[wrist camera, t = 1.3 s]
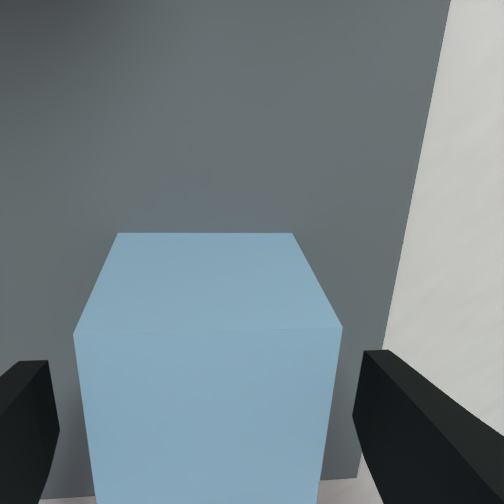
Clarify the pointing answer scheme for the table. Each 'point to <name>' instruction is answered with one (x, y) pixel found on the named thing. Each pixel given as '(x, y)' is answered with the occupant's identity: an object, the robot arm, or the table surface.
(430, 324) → the table surface
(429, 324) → the table surface
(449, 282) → the table surface
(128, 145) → the mat
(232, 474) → the cube
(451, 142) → the table surface
